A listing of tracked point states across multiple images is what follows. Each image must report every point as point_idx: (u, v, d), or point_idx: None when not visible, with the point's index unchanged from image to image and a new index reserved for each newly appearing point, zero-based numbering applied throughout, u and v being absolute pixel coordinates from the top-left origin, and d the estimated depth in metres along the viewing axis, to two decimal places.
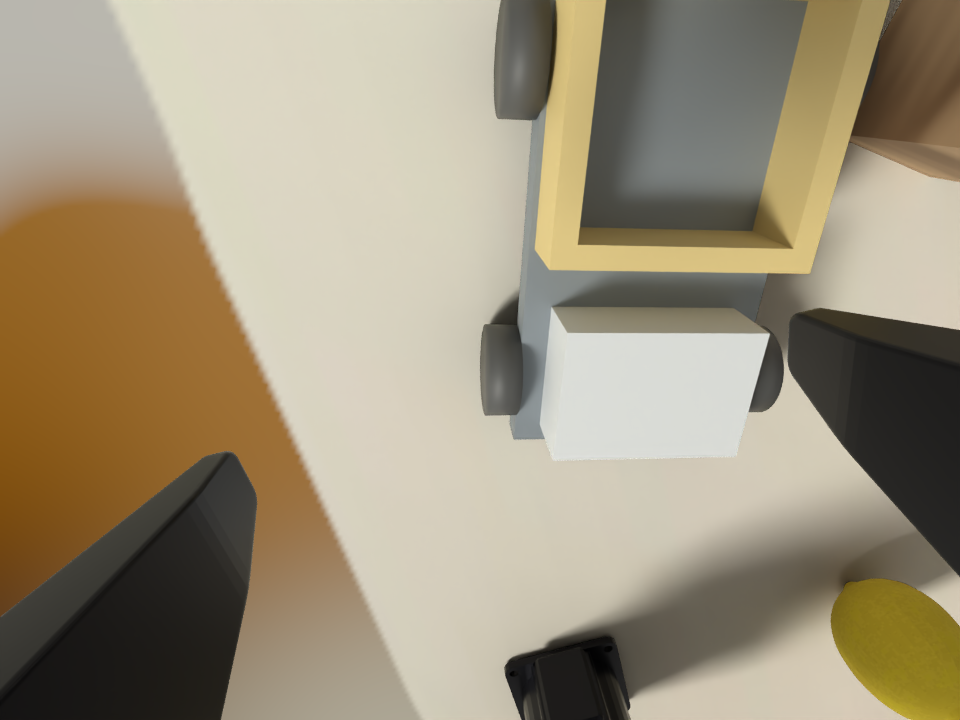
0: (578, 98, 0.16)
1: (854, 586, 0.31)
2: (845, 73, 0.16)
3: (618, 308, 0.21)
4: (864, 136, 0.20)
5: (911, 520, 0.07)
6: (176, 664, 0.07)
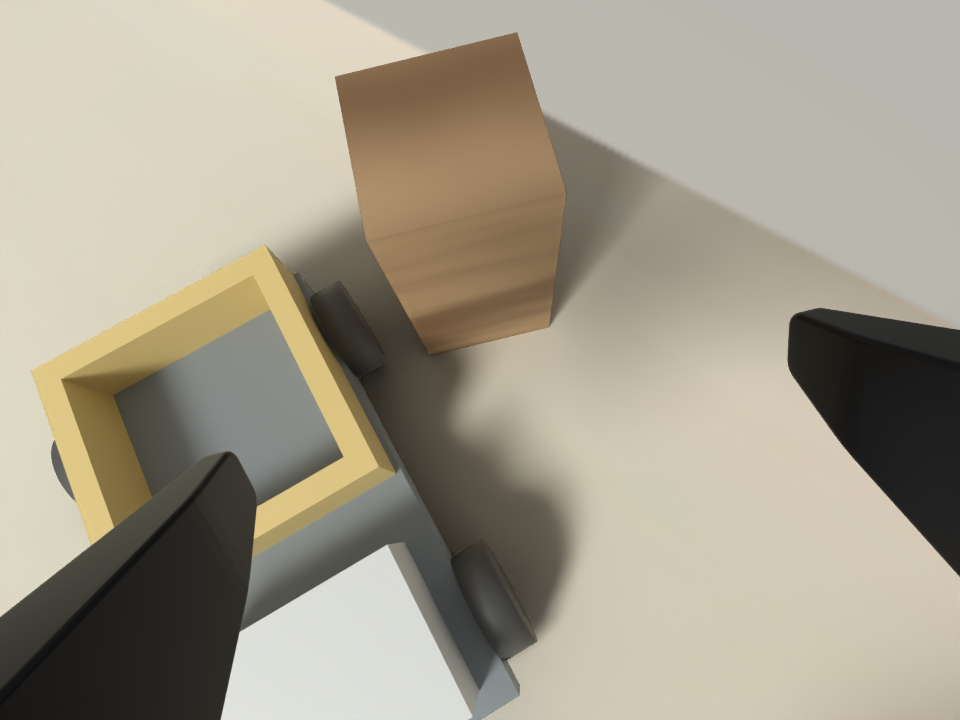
0: (76, 465, 0.18)
1: None
2: (281, 321, 0.19)
3: None
4: (422, 340, 0.22)
5: (911, 520, 0.07)
6: (176, 664, 0.07)
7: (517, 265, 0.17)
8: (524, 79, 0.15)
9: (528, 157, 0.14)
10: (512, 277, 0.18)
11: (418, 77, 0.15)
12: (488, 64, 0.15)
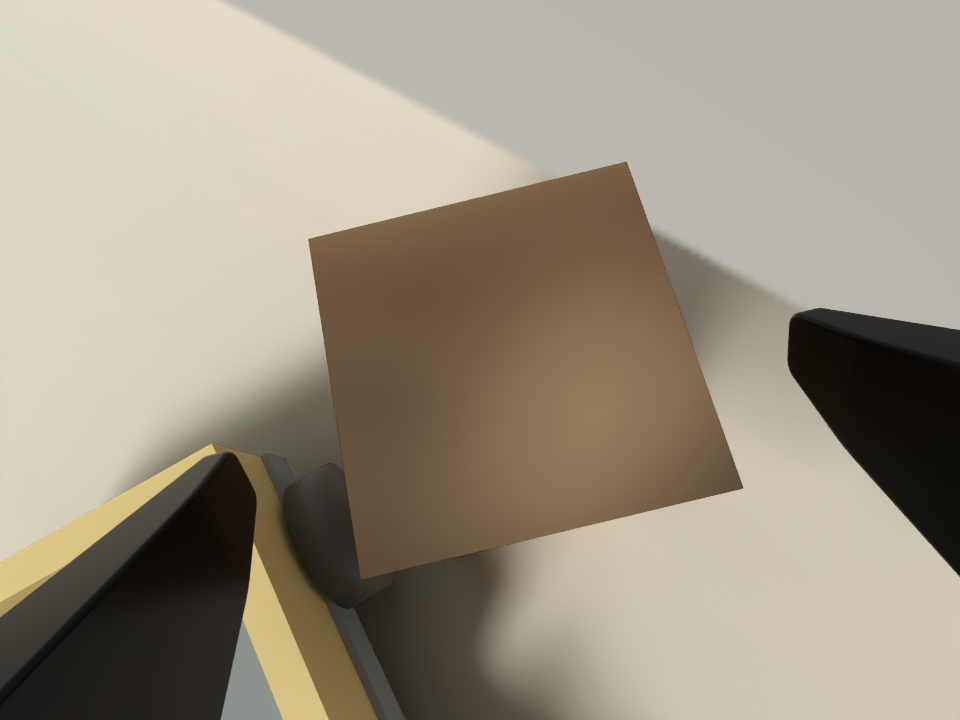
0: None
1: None
2: None
3: None
4: None
5: (911, 520, 0.07)
6: (176, 664, 0.07)
7: None
8: (645, 251, 0.08)
9: (663, 410, 0.08)
10: None
11: (455, 243, 0.09)
12: (579, 221, 0.09)
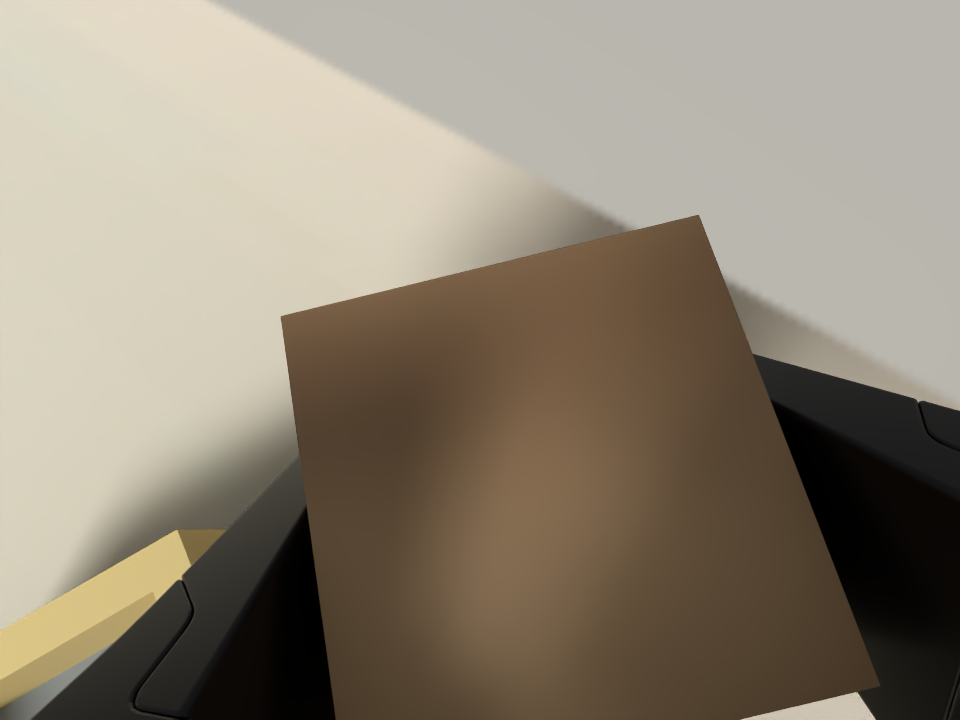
0: None
1: None
2: None
3: None
4: None
5: None
6: None
7: None
8: (728, 338, 0.06)
9: (763, 568, 0.06)
10: None
11: (473, 324, 0.07)
12: (638, 295, 0.06)
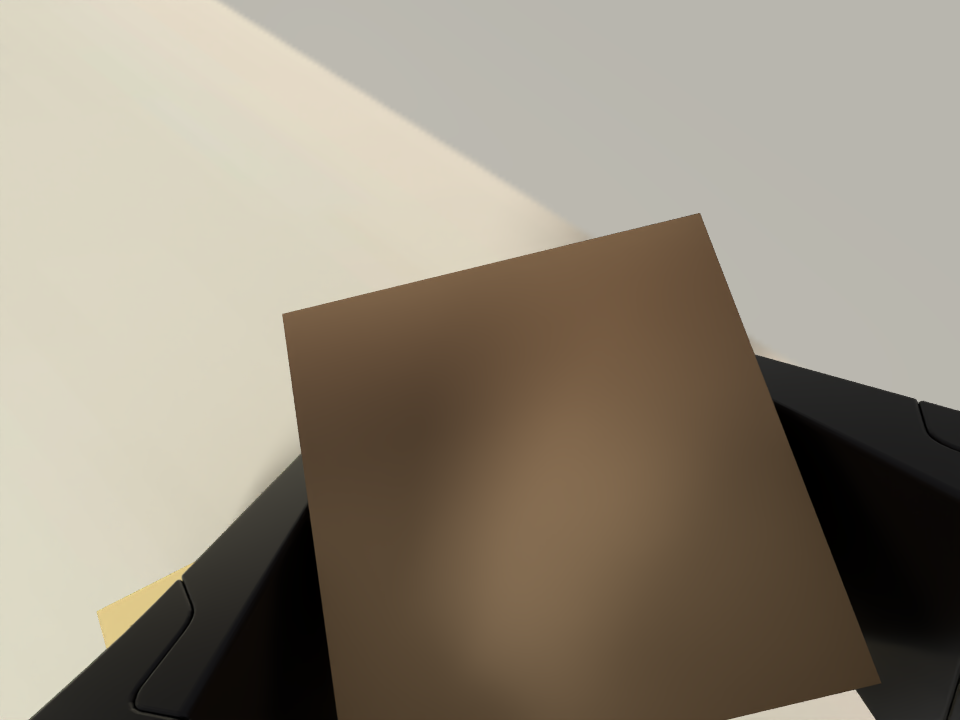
0: None
1: None
2: None
3: None
4: None
5: None
6: None
7: None
8: (729, 336, 0.06)
9: (763, 564, 0.06)
10: None
11: (475, 322, 0.07)
12: (639, 294, 0.06)
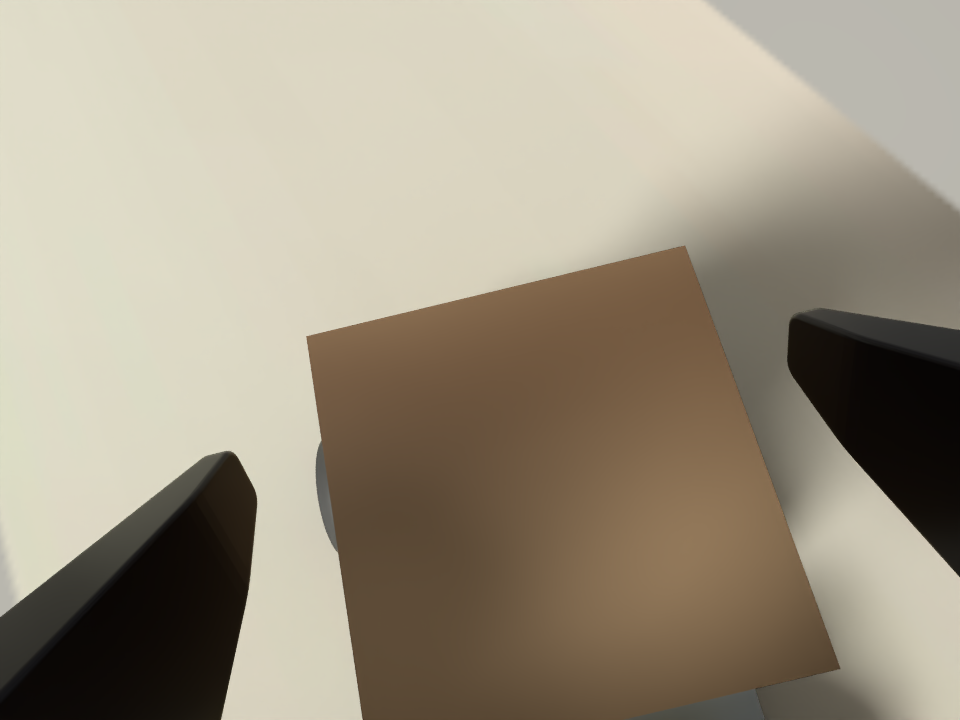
0: None
1: None
2: None
3: None
4: None
5: (911, 520, 0.07)
6: (176, 664, 0.07)
7: None
8: (710, 358, 0.07)
9: (738, 564, 0.06)
10: None
11: (481, 345, 0.07)
12: (629, 320, 0.07)
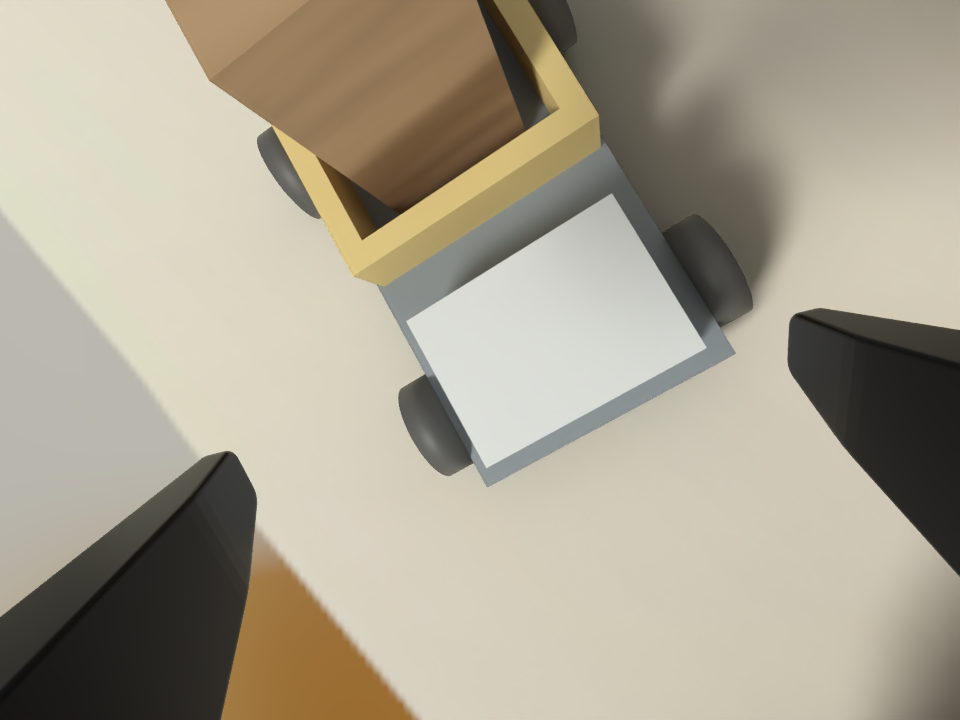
0: (292, 141, 0.18)
1: None
2: None
3: None
4: (383, 201, 0.18)
5: (911, 520, 0.07)
6: (176, 664, 0.07)
7: (437, 53, 0.13)
8: None
9: None
10: (440, 75, 0.14)
11: None
12: None
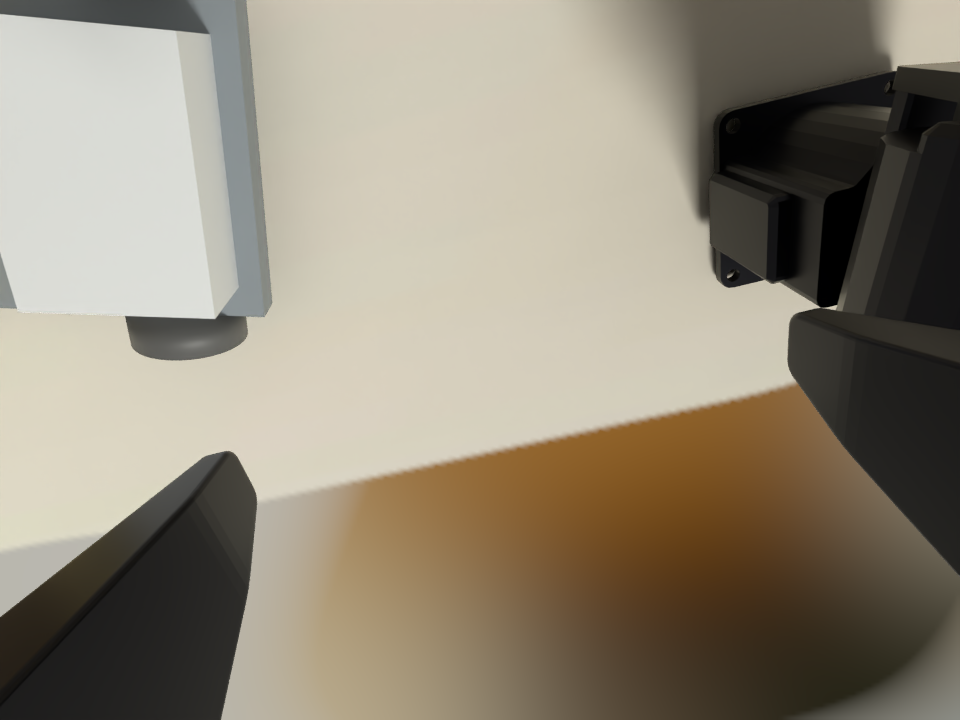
0: None
1: None
2: None
3: None
4: None
5: (911, 520, 0.07)
6: (176, 664, 0.07)
7: None
8: None
9: None
10: None
11: None
12: None
